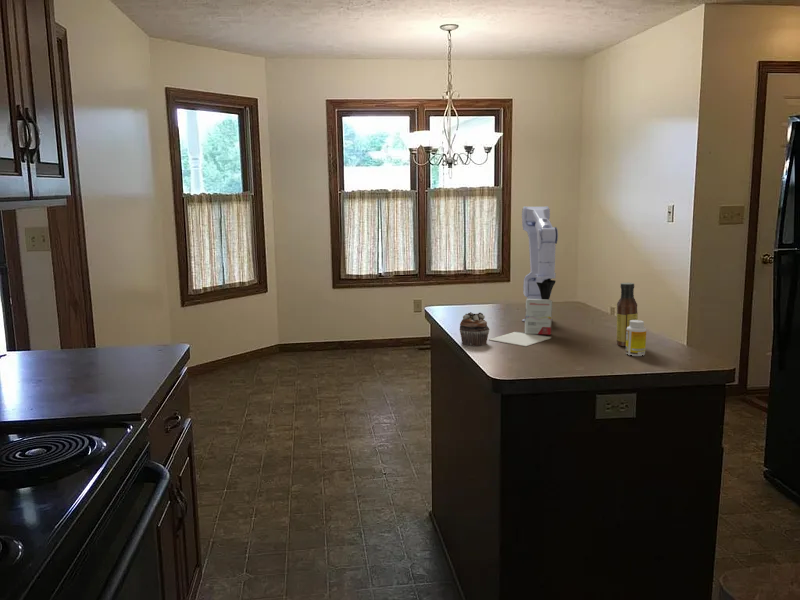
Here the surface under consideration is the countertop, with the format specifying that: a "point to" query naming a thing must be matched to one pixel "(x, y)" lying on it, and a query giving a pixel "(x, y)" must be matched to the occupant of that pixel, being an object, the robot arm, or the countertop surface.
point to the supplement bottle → (636, 338)
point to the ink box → (538, 316)
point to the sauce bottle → (625, 311)
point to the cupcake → (474, 330)
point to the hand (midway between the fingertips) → (545, 300)
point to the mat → (520, 338)
